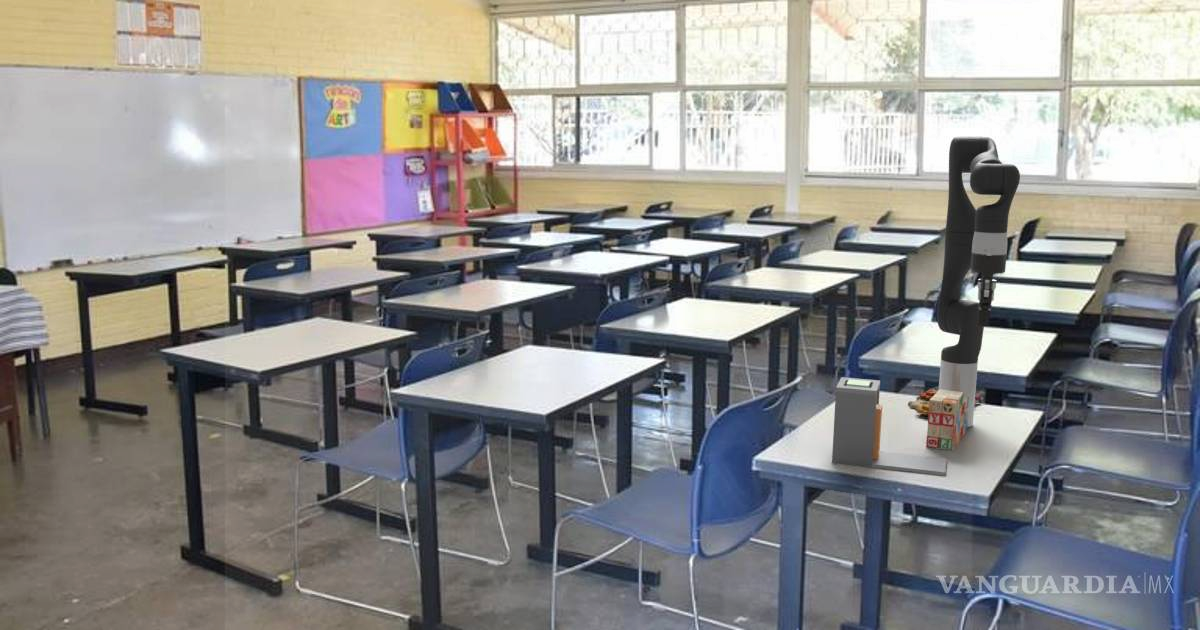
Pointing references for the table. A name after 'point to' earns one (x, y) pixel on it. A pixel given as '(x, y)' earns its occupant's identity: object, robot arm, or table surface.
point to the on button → (858, 383)
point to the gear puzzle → (925, 397)
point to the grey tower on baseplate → (869, 433)
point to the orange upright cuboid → (877, 431)
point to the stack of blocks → (947, 419)
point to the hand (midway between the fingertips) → (983, 325)
